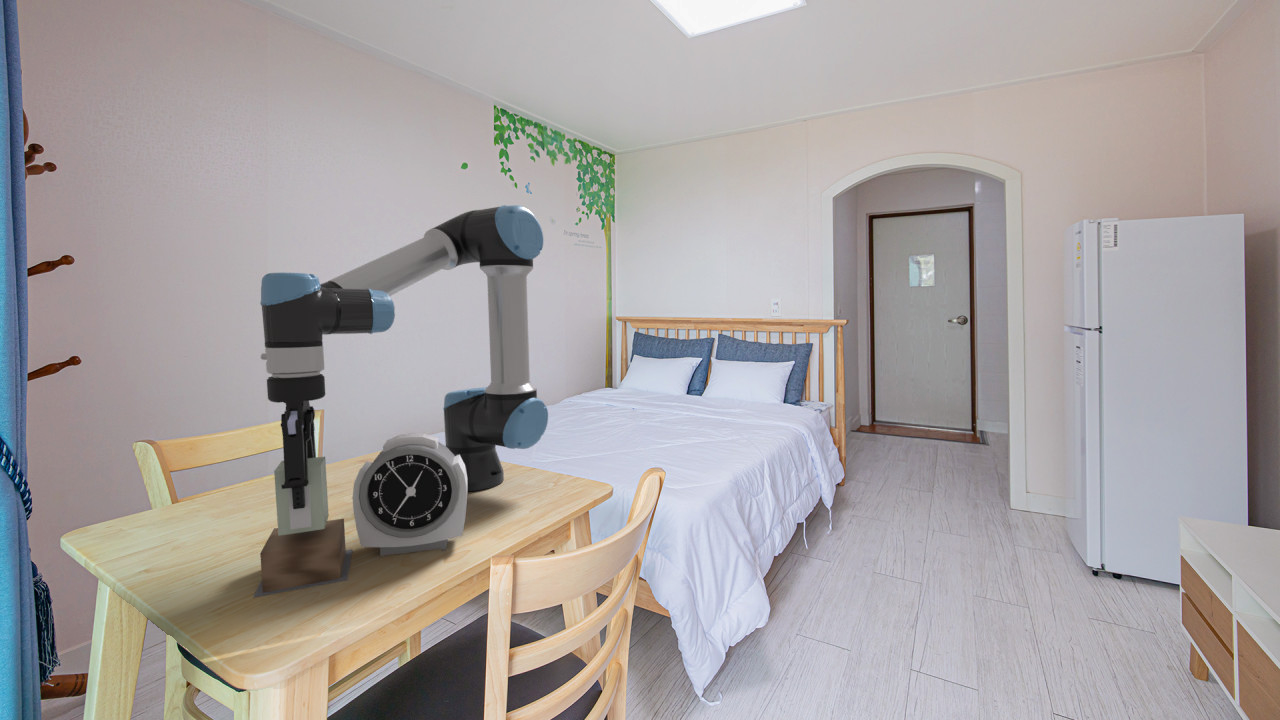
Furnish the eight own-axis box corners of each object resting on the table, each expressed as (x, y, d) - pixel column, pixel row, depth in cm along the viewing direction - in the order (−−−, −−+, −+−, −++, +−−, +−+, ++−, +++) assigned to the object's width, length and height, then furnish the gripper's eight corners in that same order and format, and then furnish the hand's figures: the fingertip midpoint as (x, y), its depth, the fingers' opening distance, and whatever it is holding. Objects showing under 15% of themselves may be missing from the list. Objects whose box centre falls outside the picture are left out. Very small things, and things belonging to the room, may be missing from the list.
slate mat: (352, 551, 93) (352, 548, 93) (347, 582, 82) (347, 579, 82) (270, 564, 88) (270, 562, 88) (253, 600, 77) (252, 597, 77)
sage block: (328, 515, 88) (325, 456, 87) (324, 528, 83) (320, 466, 82) (285, 521, 86) (281, 460, 85) (278, 535, 80) (274, 470, 79)
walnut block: (345, 552, 92) (343, 518, 91) (340, 578, 83) (338, 540, 82) (276, 563, 87) (274, 528, 87) (262, 592, 78) (260, 553, 78)
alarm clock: (353, 565, 88) (347, 444, 86) (364, 543, 96) (359, 433, 94) (468, 551, 93) (464, 436, 91) (469, 532, 101) (466, 426, 99)
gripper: (279, 369, 89) (287, 503, 91) (251, 382, 72) (263, 547, 74) (330, 367, 92) (337, 497, 94) (316, 379, 75) (325, 538, 77)
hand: (304, 519), depth 84 cm, fingers closed on sage block, 6 cm apart
